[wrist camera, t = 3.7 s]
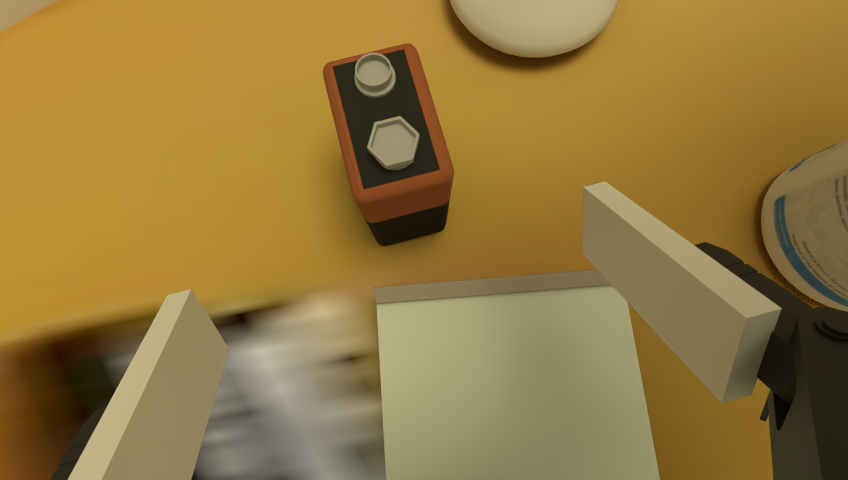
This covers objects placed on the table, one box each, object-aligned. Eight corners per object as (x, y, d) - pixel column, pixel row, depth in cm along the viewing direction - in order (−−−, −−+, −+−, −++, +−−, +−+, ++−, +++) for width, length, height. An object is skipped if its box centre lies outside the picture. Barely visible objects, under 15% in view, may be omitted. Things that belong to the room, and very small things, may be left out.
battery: (379, 249, 26) (349, 196, 16) (353, 149, 27) (312, 45, 18) (447, 230, 26) (459, 167, 16) (419, 132, 28) (413, 21, 18)
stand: (599, 276, 25) (626, 267, 22) (641, 520, 23) (680, 554, 19) (381, 294, 25) (374, 287, 22) (395, 541, 22) (389, 579, 19)
